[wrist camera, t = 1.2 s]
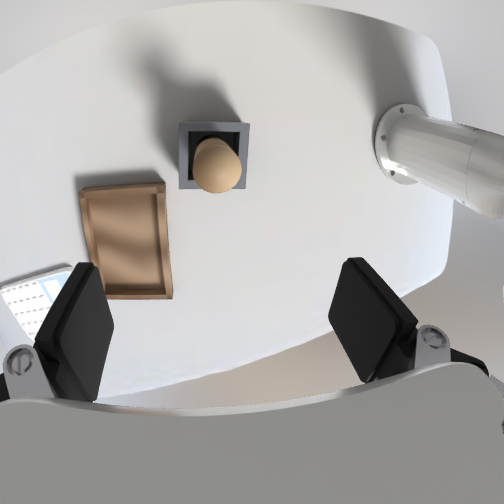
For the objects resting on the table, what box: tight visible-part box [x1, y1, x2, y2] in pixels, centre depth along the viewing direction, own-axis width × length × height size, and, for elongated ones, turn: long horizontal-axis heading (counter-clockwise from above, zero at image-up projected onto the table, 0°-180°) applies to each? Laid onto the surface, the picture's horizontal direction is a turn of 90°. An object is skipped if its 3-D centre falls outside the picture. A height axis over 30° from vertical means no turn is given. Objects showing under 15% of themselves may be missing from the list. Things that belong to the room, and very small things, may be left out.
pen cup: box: [179, 121, 250, 189], centre depth 28 cm, size 7×7×6 cm
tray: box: [79, 182, 173, 300], centre depth 33 cm, size 16×11×2 cm
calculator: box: [0, 267, 74, 342], centre depth 36 cm, size 13×20×2 cm, turn 98°
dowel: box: [193, 135, 242, 193], centre depth 24 cm, size 4×4×12 cm
